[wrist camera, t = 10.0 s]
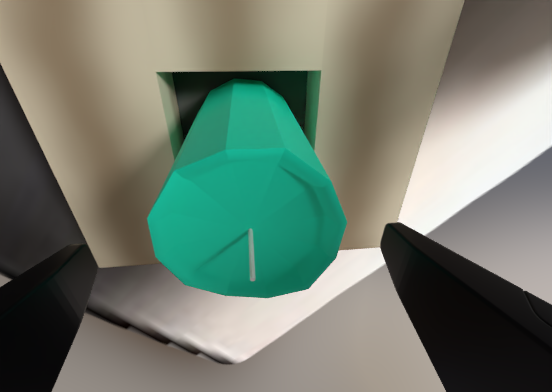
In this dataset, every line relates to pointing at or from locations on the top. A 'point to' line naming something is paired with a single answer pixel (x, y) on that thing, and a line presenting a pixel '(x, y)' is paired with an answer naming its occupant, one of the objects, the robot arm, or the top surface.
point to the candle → (246, 200)
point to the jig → (221, 57)
